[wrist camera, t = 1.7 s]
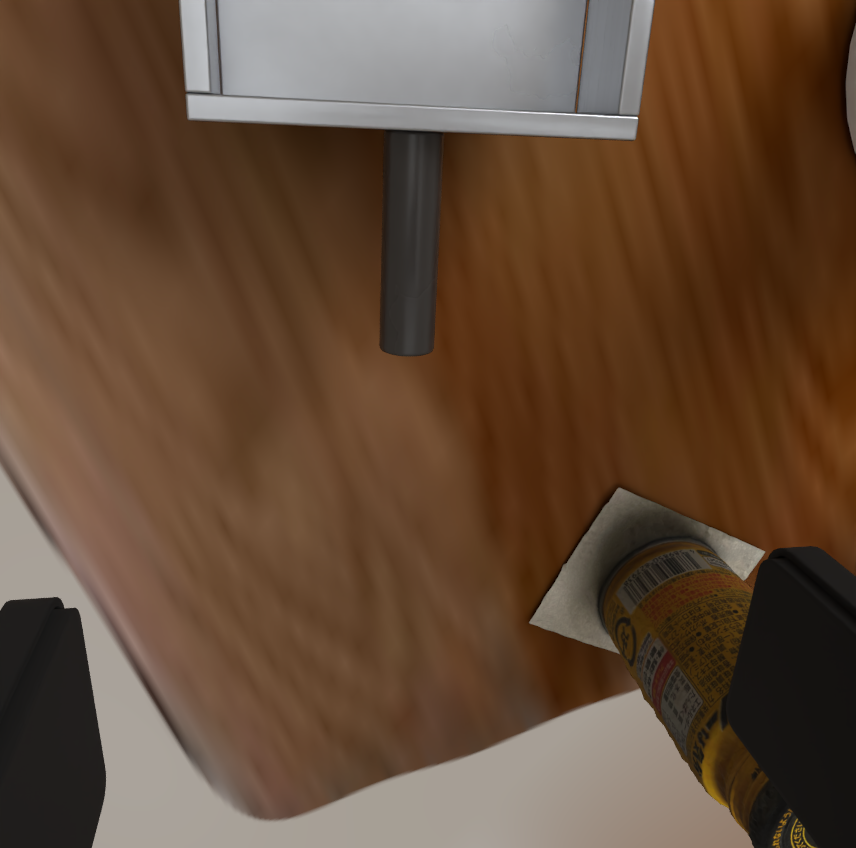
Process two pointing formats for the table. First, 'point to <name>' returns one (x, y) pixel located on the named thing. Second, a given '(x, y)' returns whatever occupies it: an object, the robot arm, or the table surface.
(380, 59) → the scoop
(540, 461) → the table surface
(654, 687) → the condiment
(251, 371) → the table surface
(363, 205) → the table surface
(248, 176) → the table surface
